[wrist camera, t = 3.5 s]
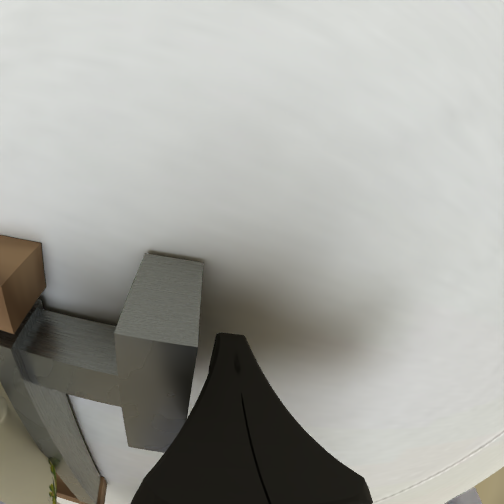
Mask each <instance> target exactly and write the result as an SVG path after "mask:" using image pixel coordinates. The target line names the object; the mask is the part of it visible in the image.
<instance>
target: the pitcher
mask: <svg viewBox="0 0 504 504" xmlns="http://www.w3.org/2000/svg"><path fill="white" fill-rule="evenodd" d="M56 498H57V484H56V470H55V467H54V465H53V464H52V462H51V461H50V460H49V459H48V458H47V457H46V456H45V455H44V454H43V453H42V452H41V451H40V449H39V448H38V446H37V445H36V443H35V442H34V440H33V439H32V437H31V436H30V434H29V432H28V431H27V429H26V428H25V426H24V424H23V423H22V421H21V419H20V418H19V416H18V414H17V412H16V411H15V409H14V407H13V405H12V403H11V402H10V400H9V398H8V396H7V394H6V392H5V390H4V388H3V386H2V384H1V382H0V501H2V502H4V503H6V504H56Z"/></svg>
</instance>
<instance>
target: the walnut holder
mask: <svg viewBox="0 0 504 504" xmlns="http://www.w3.org/2000/svg"><path fill="white" fill-rule="evenodd" d="M45 288H46V282H45V275H44V267H43V258H42V248H41V243H38V242H33V241H28V240H22V239H17V238H12V237H7V236H2V235H0V330H2V331H5V332H8V333H11V334H15V332H16V330H17V329H18V327H19V326H20V324H21V323H22V321H23V320H24V318H25V317H26V315H27V314H28V312H29V311H30V309H31V308H32V306H33V305H34V303H35V302H36V300H37V299H38V298H39V296H40V295H41V293H42V292H43V291H44V289H45ZM100 477H101V476H100ZM56 484H57V497H60V498H63V499H66V500H69V501H73V502H76V503H79V504H88V503H84V502H81V501H79V500H78V499H77V497H76V496H75V495H74V494H73V493H72V492H71V490H70V489H69V488H68V487H67V485H66V484H65V483H64V482H63V480H62V479H61V478H60V477H59V475H58V474H57V473H56ZM106 488H107V483H106V481H105V479H104V477H101V479H100V485H99V492H98V499H97V504H104V503H105V495H106Z"/></svg>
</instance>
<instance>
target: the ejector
mask: <svg viewBox="0 0 504 504" xmlns="http://www.w3.org/2000/svg"><path fill="white" fill-rule="evenodd" d="M202 276H203V262H196V261H190V260H184V259H177V258H171V257H165V256H159V255H153V254H147V253H145V255H144V258H143V260H142V262H141V265H140V267H139V270H138V272H137V274H136V277H135V279H134V282H133V284H132V287H131V289H130V292H129V295H128V297H127V300H126V302H125V305H124V308H123V310H122V313H121V316H120V318H119V321H118V324H117V326H114V325H109V324H104V323H99V322H94V321H90V320H85V319H81V318H76V317H72V316H68V315H63V314H59V313H55V312H51V311H47V310H43V305H42V300H39V299H37V300H36V302H35V303H34V305H33V306H32V308H31V309H30V311H29V312H28V314H27V315H26V317H25V318H24V320H23V321H22V323H21V324H20V326H19V327H18V329H17V330H16V332H15V334H11V333H8V332H5V331H2V330H0V382H1V384H2V386H3V388H4V390H5V392H6V394H7V396H8V398H9V400H10V402H11V403H12V405H13V407H14V409H15V411H16V412H17V414H18V416H19V418H20V419H21V421H22V423H23V424H24V426H25V428H26V429H27V431H28V432H29V434H30V436H31V437H32V439H33V440H34V442H35V443H36V445H37V446H38V448H39V449H40V451H41V452H42V453H43V454H44V455H45V456H46V457H47V458H48V459H49V460H50V461H51V462H52V464H53V465H54V467H55V470H56V473H57V474H58V475H59V477H60V478H61V479H62V480H63V482H64V483H65V484H66V485H67V487H68V488H69V489H70V490H71V492H72V493H73V494H74V495H75V496H76V497H77V499H78V500H79V501H81V502H84V503H88V504H97V499H98V492H99V485H100V479H101V477H100V475H99V473H98V471H97V469H96V467H95V465H94V463H93V461H92V459H91V457H90V454H89V452H88V450H87V448H86V445H85V443H84V441H83V438H82V436H81V434H80V431H79V429H78V426H77V424H76V421H75V418H74V416H73V413H72V410H71V408H70V405H69V402H68V399H67V396H66V394H70V395H73V396H77V397H81V398H85V399H89V400H93V401H97V402H101V403H106V404H110V405H115V406H120V407H122V411H123V418H124V424H125V430H126V435H127V441H128V446H129V447H134V448H139V449H145V450H151V451H158V452H166V450H167V449H168V448H169V446H170V445H171V443H172V442H173V440H174V439H175V438H176V436H177V435H178V433H179V431H180V430H181V428H182V427H183V425H184V423H185V422H186V420H187V413H188V407H189V400H190V393H191V387H192V380H193V374H194V368H195V362H196V356H197V350H198V336H199V319H200V303H201V289H202Z"/></svg>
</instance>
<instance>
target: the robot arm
mask: <svg viewBox="0 0 504 504" xmlns="http://www.w3.org/2000/svg"><path fill="white" fill-rule="evenodd" d="M372 503H373V501H372V498H371V495H370V491H369V488H368V486H367V484H366V482H365V479H364V478H363V477H362V476H360V475H359V474H357V473H356V472H354V471H353V470H351V469H350V468H348V467H347V466H345V465H344V464H342V463H341V462H339V461H338V460H337V459H336V458H334V457H333V456H332V455H331V454H329V453H328V452H327V451H326V450H325V449H324V448H323V447H322V446H320V445H319V444H318V443H317V442H316V441H315V440H314V439H313V438H312V437H311V436H310V435H309V434H308V433H307V432H306V431H305V430H304V429H303V428H302V427H301V426H300V424H299V423H298V422H297V421H296V420H295V419H294V417H293V416H292V415H291V414H290V413H289V411H288V410H287V409H286V407H285V406H284V405H283V403H282V402H281V401H280V399H279V398H278V396H277V395H276V393H275V392H274V390H273V389H272V387H271V386H270V384H269V382H268V381H267V379H266V377H265V376H264V374H263V372H262V370H261V369H260V367H259V365H258V363H257V361H256V359H255V357H254V355H253V353H252V351H251V349H250V346H249V344H248V342H247V340H246V338H245V336H244V335H236V334H228V333H218V334H216V338H215V343H214V347H213V352H212V356H211V361H210V366H209V374H208V376H207V379H206V381H205V384H204V386H203V388H202V391H201V393H200V395H199V397H198V399H197V401H196V403H195V405H194V407H193V409H192V411H191V413H190V415H189V416H188V418H187V420H186V422H185V423H184V425H183V427H182V428H181V430H180V431H179V433H178V435H177V436H176V438H175V439H174V440H173V442H172V443H171V445H170V446H169V448H168V449H167V450H166V452H165V453H164V455H163V456H162V457H161V458H160V460H159V461H158V462H157V463H156V465H155V466H154V467H153V468H152V469H151V471H150V472H149V473H148V474H147V475H146V477H145V478H144V479H143V481H142V483H141V485H140V487H139V489H138V490H137V492H136V494H135V496H134V498H133V500H132V502H131V504H372ZM0 504H6V503H4V502H2V501H0ZM445 504H482V502H481V500H480V498H479V495H478V493H477V491H476V489H475V488H472V489H470V490H468V491H466V492H464V493H462V494H460V495H458V496H456V497H454V498H453V499H451V500H449V501H448V502H446V503H445Z"/></svg>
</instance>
